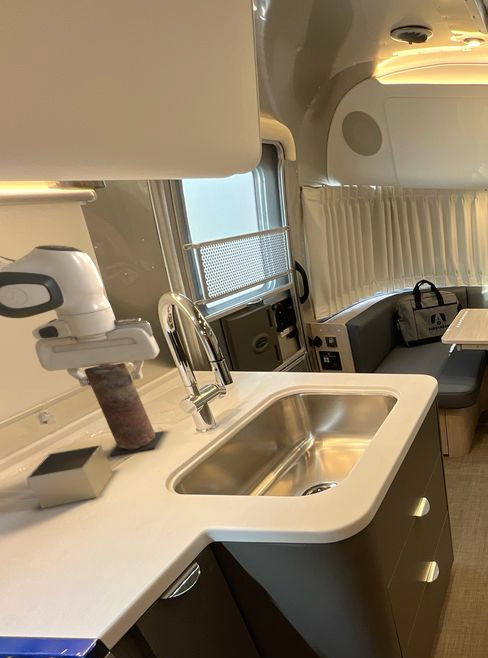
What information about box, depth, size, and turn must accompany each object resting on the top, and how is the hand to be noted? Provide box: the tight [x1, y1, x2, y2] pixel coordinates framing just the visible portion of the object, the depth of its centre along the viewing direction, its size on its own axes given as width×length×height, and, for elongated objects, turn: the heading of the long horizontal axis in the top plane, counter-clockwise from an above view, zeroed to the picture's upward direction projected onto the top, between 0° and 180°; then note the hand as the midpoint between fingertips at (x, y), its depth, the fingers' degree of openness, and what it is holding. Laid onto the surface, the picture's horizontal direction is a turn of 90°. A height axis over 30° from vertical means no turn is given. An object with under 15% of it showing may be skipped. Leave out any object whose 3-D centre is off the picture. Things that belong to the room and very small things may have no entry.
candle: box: [83, 362, 156, 450], centre depth 112 cm, size 8×7×20 cm
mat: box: [110, 431, 164, 457], centre depth 116 cm, size 8×8×1 cm
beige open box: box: [26, 444, 114, 509], centre depth 98 cm, size 9×10×7 cm
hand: (113, 381), depth 109 cm, fingers open, 8 cm apart
